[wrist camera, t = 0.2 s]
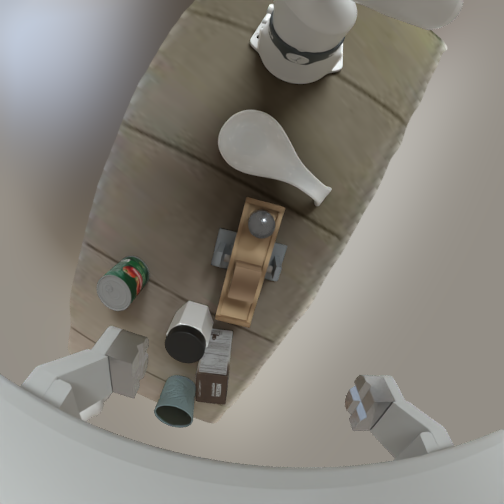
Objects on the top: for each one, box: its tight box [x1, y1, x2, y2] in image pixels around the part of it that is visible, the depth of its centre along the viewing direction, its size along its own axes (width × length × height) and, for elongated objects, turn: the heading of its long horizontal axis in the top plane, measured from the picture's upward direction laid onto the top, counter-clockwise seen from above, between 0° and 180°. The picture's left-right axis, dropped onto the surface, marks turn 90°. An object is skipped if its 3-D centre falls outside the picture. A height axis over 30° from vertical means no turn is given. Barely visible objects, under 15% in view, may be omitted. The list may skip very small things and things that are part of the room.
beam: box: [215, 197, 285, 328], centre depth 53 cm, size 24×9×3 cm, turn 165°
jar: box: [165, 301, 214, 363], centre depth 58 cm, size 9×8×12 cm
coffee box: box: [196, 329, 233, 404], centre depth 58 cm, size 9×6×16 cm
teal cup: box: [154, 375, 196, 427], centre depth 66 cm, size 10×10×12 cm
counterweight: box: [248, 209, 275, 239], centre depth 48 cm, size 4×4×5 cm
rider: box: [228, 260, 262, 303], centre depth 51 cm, size 6×5×4 cm
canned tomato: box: [97, 256, 149, 311], centre depth 55 cm, size 8×8×11 cm
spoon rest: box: [218, 110, 331, 206], centre depth 49 cm, size 24×12×7 cm, turn 55°
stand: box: [211, 228, 287, 281], centre depth 55 cm, size 8×14×6 cm, turn 75°
